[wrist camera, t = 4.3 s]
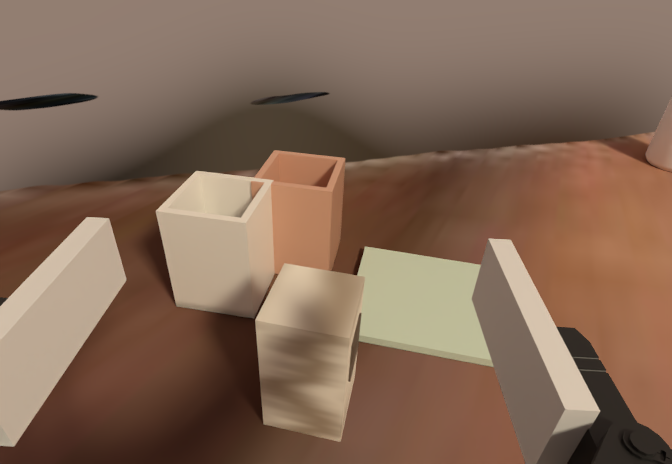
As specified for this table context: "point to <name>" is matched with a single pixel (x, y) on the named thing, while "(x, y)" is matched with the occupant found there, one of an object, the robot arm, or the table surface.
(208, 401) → the table surface
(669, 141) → the alcohol
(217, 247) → the white open box
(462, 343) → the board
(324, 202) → the terracotta open box
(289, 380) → the beige rectangular block
